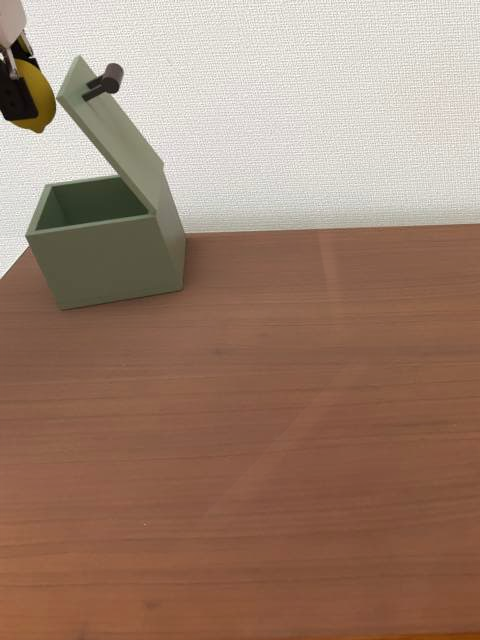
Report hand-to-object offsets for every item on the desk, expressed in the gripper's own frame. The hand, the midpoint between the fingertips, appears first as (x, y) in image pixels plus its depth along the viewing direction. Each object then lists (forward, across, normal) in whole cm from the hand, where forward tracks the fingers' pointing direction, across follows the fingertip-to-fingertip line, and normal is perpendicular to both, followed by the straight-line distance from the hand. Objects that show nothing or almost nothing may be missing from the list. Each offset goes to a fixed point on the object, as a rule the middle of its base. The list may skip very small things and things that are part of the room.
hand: (28, 106), depth 87 cm
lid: (+5, -3, +6) cm, 9 cm away
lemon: (+3, 0, 0) cm, 3 cm away
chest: (+22, -3, +2) cm, 23 cm away
